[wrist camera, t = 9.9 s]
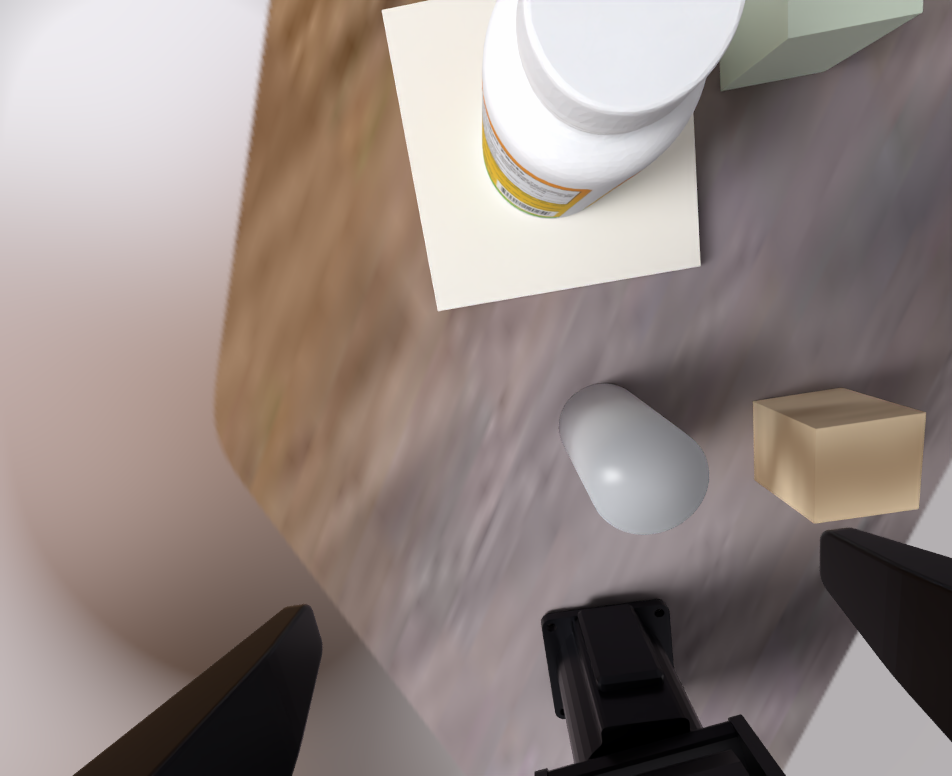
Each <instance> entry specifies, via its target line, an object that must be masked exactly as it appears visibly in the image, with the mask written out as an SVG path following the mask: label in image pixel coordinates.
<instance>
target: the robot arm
mask: <svg viewBox="0 0 952 776" xmlns="http://www.w3.org/2000/svg"><path fill="white" fill-rule="evenodd" d="M820 576H821V580H822V582H823V584H824V586H825V588H826V589H827V591H828V592H829V593H830V594H831V596H832V597H833V598H834V600H835V601H836V602H837V604H838V605H839V606H840V608H841V609H842V610H843V611H844V613H845V614H846V615H847V617H848V618H849V619H850V621H851V622H852V623H853V625H854V626H855V627H856V629H857V630H858V631H859V632H860V634H861V635H862V636H863V638H864V639H865V640H866V642H867V643H868V644H869V646H870V647H871V648H872V650H873V651H874V652H875V653H876V655H877V656H878V657H879V659H880V660H881V661H882V662H883V664H884V665H885V666H886V668H887V669H888V670H889V671H890V673H891V674H892V675H893V676H894V677H895V679H896V680H897V681H898V682H899V683H900V684H901V686H902V687H903V688H904V689H905V690H906V691H907V693H908V694H909V695H910V696H911V697H912V698H913V699H914V700H915V702H916V703H917V704H918V705H919V706H920V707H921V708H922V709H923V710H924V712H925V713H926V714H927V715H928V716H929V717H930V718H931V719H932V721H934V723H935V724H936V725H937V726H938V727H939V728H940V729H941V731H942V732H943V733H944V734H945V735H946V736H947V737H948V738H949V739H950V740H951V742H952V558H949V557H946V556H943V555H940V554H936V553H933V552H930V551H927V550H923V549H920V548H917V547H913V546H910V545H907V544H903V543H900V542H897V541H893V540H890V539H887V538H884V537H880V536H877V535H874V534H870V533H867V532H864V531H860V530H857V529H854V528H840V529H833V530H827V531H825V532H823V533H822V535H821V537H820ZM657 609H660V611H657V612H655V611H656V610H657ZM551 623H553V624H554V625H552V626H548V624H551ZM541 626H542V632H543V639H544V645H545V651H546V658H547V664H548V670H549V677H550V683H551V689H552V696H553V702H554V708H555V713H556V716H557V717H559V718H561V719H566V723H567V728H568V733H569V738H570V743H571V749H572V754H573V759H574V764H571V765H567V766H564V767H560V768H556V769H553V770H548V768H546V769H542V770H539V771H535V776H786V775H785V774H784V773H783V771H782V770H781V768H780V767H779V766H778V764H777V763H776V761H775V760H774V759H773V757H772V756H771V755H770V753H769V752H768V750H767V749H766V748H765V746H764V745H763V743H762V742H761V741H760V739H759V738H758V737H757V735H756V734H755V732H754V731H753V730H752V728H751V727H750V725H749V724H748V723H747V721H746V720H745V719H744V717H743V716H742V715H741V714H740V715H737V716H733V717H730V718H728V721H726V722H723V723H719V724H715V725H712V726H708V727H705V728H703V727H702V725H701V723H700V721H699V719H698V717H697V715H696V713H695V711H694V709H693V707H692V705H691V703H690V701H689V699H688V697H687V695H686V692H685V690H684V688H683V686H682V684H681V682H680V680H679V678H678V676H677V674H676V672H675V670H674V666H673V653H672V639H671V626H670V613H669V609H668V607H667V605H666V604H665V602H664V601H662V600H660V599H654V600H647V601H639V602H632V603H624V604H617V605H610V606H602V607H595V608H588V609H580V610H573V611H565V612H558V613H551V614H547V615H545V616H543V618H542V619H541ZM321 657H322V640H321V636H320V633H319V630H318V626H317V623H316V620H315V616H314V613H313V610H312V608H311V607H310V606H309V605H307V604H302V605H294V606H289V607H285V608H284V609H283V610H281V611H280V612H279V613H277V614H276V615H275V616H273V617H272V618H271V619H270V620H269V621H267V622H266V623H265V624H264V625H262V626H261V627H260V628H258V629H257V630H256V631H254V633H252V634H251V635H250V636H248V637H247V638H246V639H244V640H243V641H242V642H241V643H239V644H238V645H237V646H236V647H234V648H233V649H232V650H230V652H228V653H227V654H226V655H224V656H223V657H222V658H220V659H219V660H218V661H217V662H215V663H214V664H213V665H212V666H210V667H209V668H208V669H207V670H205V671H204V672H203V673H202V674H200V675H199V676H198V677H196V678H195V679H194V680H193V681H191V682H190V683H189V684H188V685H186V686H185V687H184V688H183V689H182V690H180V691H179V692H177V693H176V694H175V695H174V696H172V697H171V698H170V699H169V700H167V701H166V702H165V703H164V704H162V705H161V706H160V707H159V708H157V709H156V710H155V711H154V712H152V713H151V714H150V715H148V716H147V717H146V718H145V719H143V720H142V721H141V722H140V723H138V724H137V725H136V726H135V727H133V728H132V729H131V730H129V731H128V732H127V733H126V734H124V735H123V736H122V737H121V738H119V739H118V740H117V741H116V742H115V743H113V744H112V745H111V746H109V747H108V748H107V749H106V750H104V751H103V752H102V753H100V754H99V755H98V756H97V757H95V758H94V759H93V760H92V761H90V762H89V763H88V764H87V765H85V766H84V767H83V768H82V769H80V770H79V771H78V772H76V773H75V774H74V775H73V776H292V774H293V771H294V768H295V764H296V761H297V758H298V754H299V751H300V747H301V743H302V739H303V735H304V731H305V727H306V722H307V718H308V713H309V710H310V705H311V701H312V697H313V692H314V688H315V683H316V679H317V675H318V670H319V666H320V661H321ZM563 708H564V709H563Z"/></svg>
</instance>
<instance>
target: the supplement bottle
mask: <svg viewBox="0 0 952 776" xmlns="http://www.w3.org/2000/svg"><path fill="white" fill-rule="evenodd" d="M744 4H745V0H497V1H496V3H495V6H494V8H493V11H492V14H491V17H490V20H489V23H488V27H487V31H486V36H485V42H484V49H483V63H482V149H483V158H484V164H485V168H486V171H487V174H488V176H489V178H490V181H491V183H492V184H493V186H494V187H495V189H496V190H497V192H498V193H499V194H500V196H501V197H502V198H503V199H504V200H505V201H506V202H507V203H508V204H510V205H511V206H512V207H514V208H515V209H517V210H518V211H520V212H522V213H524V214H527V215H529V216H533V217H537V218H544V219H555V218H562V217H567V216H570V215H573V214H575V213H578V212H580V211H582V210H583V209H585V208H587V207H589V206H590V205H592V204H593V203H595V202H596V201H598V200H599V199H600V198H602V197H603V196H605V195H606V194H608V193H609V192H611V191H612V190H614V189H615V188H617V187H618V186H620V185H621V184H623V183H624V182H626V181H627V180H629V179H630V178H632V177H633V176H635V175H636V174H638V173H639V172H641V171H642V170H643V169H645V168H646V167H647V166H649V165H650V164H651V163H652V162H653V161H655V160H656V159H657V158H658V157H659V156H660V155H661V154H662V153H663V152H664V151H665V150H666V149H668V148H669V147H670V145H671V144H672V143H673V142H674V141H675V139H676V138H677V137H678V136H679V134H680V133H681V132H682V130H683V129H684V127H685V126H686V124H687V123H688V121H689V119H690V117H691V116H692V114H693V112H694V110H695V108H696V106H697V103H698V101H699V99H700V96H701V93H702V90H703V88H704V85H705V80H706V77H707V76H708V75H709V74H710V73H711V71H712V70H713V69H714V68H715V67H716V65H717V64H718V62H719V61H720V59H721V58H722V56H723V55H724V53H725V52H726V50H727V48H728V47H729V45H730V43H731V41H732V39H733V37H734V35H735V32H736V30H737V27H738V24H739V21H740V18H741V15H742V12H743V8H744Z"/></svg>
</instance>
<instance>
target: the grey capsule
mask: <svg viewBox="0 0 952 776" xmlns="http://www.w3.org/2000/svg"><path fill="white" fill-rule="evenodd" d="M559 434H560V438H561V441H562V443H563V445H564V447H565V449H566V451H567V453H568V455H569V457H570V459H571V461H572V463H573V465H574V467H575V469H576V471H577V473H578V474H579V476H580V478H581V480H582V482H583V484H584V486H585V488H586V490H587V492H588V494H589V496H590V498H591V500H592V502H593V504H594V506H595V508H596V510H597V511H598V513H599V514H600V515H601V517H602V518H603V519H604V520H605V521H607V522H608V523H609V524H610V525H612V526H614V527H615V528H617V529H619V530H622V531H624V532H628V533H632V534H640V535H648V534H656V533H661V532H664V531H667V530H670V529H672V528H674V527H676V526H678V525H679V524H681V523H683V522H684V521H685V520H687V519H688V518H689V517H690V516H691V515H692V514H693V513H694V512H695V511H696V510H697V508H698V507H699V505H700V504H701V502H702V501H703V499H704V496H705V494H706V491H707V488H708V483H709V468H708V463H707V459H706V457H705V455H704V452H703V451H702V449H701V448H700V446H699V445H698V444H697V443H696V442H695V441H694V440H693V439H692V438H691V437H690V436H688V435H687V434H686V433H684V432H683V431H682V430H680V429H679V428H678V427H676V426H675V425H674V424H672V423H671V422H670V421H668V420H667V419H666V418H664V417H663V416H662V415H660V414H659V413H658V412H656V411H655V410H653V409H652V408H651V407H649V406H648V405H647V404H645V403H644V402H643V401H641V400H640V399H639V398H637V397H636V396H635V395H633V394H632V393H631V392H629V391H628V390H626V389H625V388H622V387H620V386H617V385H614V384H604V383H602V384H595V385H591V386H588V387H585V388H583V389H581V390H580V391H578V392H577V393H575V394H574V395H573V396H572V397H571V398H570V399H569V400H568V402H567V403H566V404H565V406H564V408H563V410H562V412H561V415H560V419H559Z"/></svg>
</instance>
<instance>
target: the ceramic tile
mask: <svg viewBox="0 0 952 776" xmlns="http://www.w3.org/2000/svg"><path fill="white" fill-rule="evenodd" d="M496 1H497V0H428V1H424V2H419V3H414V4H409V5H404V6H399V7H394V8H390V9H385V10H382V14H383V20H384V25H385V30H386V36H387V41H388V47H389V52H390V57H391V63H392V68H393V73H394V79H395V84H396V89H397V95H398V100H399V105H400V111H401V116H402V121H403V127H404V132H405V138H406V143H407V148H408V154H409V159H410V164H411V170H412V175H413V180H414V186H415V191H416V196H417V202H418V207H419V212H420V218H421V223H422V229H423V234H424V239H425V245H426V250H427V255H428V261H429V266H430V271H431V277H432V282H433V287H434V293H435V298H436V303H437V309H438V311H441V310H447V309H453V308H459V307H465V306H470V305H476V304H482V303H488V302H494V301H500V300H506V299H511V298H517V297H523V296H529V295H535V294H541V293H547V292H552V291H558V290H564V289H570V288H576V287H582V286H587V285H593V284H599V283H605V282H611V281H617V280H623V279H628V278H634V277H640V276H646V275H652V274H658V273H663V272H669V271H675V270H681V269H687V268H693V267H699V266H700V244H699V223H698V201H697V180H696V158H695V137H694V115H693V114H692V116H691V117H690V119H689V121H688V123H687V124H686V126H685V127H684V129H683V130H682V132H681V133H680V134H679V136H678V137H677V138H676V139H675V141H674V142H673V143H672V144H671V145H670V147H669V148H668V149H666V150H665V151H664V152H663V153H662V154H661V155H660V156H659V157H658V158H657V159H656V160H655V161H653V162H652V163H651V164H650V165H649V166H647V167H646V168H645V169H643V170H642V171H641V172H639V173H638V174H636V175H635V176H633V177H632V178H630V179H629V180H627V181H626V182H624V183H623V184H621V185H620V186H618V187H617V188H615V189H614V190H612V191H611V192H609V193H608V194H606V195H605V196H603V197H602V198H600V199H599V200H598V201H596V202H595V203H593V204H592V205H590V206H589V207H587V208H585V209H583V210H582V211H580V212H578V213H575V214H573V215H570V216H567V217H562V218H555V219H544V218H537V217H533V216H529V215H527V214H524V213H522V212H520V211H518V210H517V209H515V208H514V207H512V206H511V205H510V204H508V203H507V202H506V201H505V200H504V199H503V198H502V197H501V196H500V194H499V193H498V192H497V190H496V189H495V187H494V186H493V184H492V183H491V181H490V178H489V176H488V174H487V171H486V168H485V164H484V158H483V149H482V63H483V49H484V42H485V36H486V31H487V27H488V23H489V20H490V17H491V14H492V11H493V8H494V6H495V3H496Z"/></svg>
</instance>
